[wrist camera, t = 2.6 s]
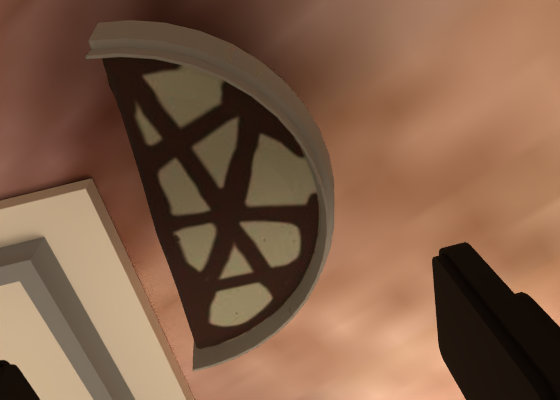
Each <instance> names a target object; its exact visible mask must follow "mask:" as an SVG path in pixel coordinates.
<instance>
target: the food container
mask: <svg viewBox="0 0 560 400" xmlns="http://www.w3.org/2000/svg"><path fill="white" fill-rule="evenodd" d="M89 44H90V47H91V51H90V52H89V53H88V54H87V55H86V56H85V57H86V59H97V58H102V59H103V63H104V67H105V70H106V72H107V77H108V82H109V86H110V88H111V90H112V92H113V94H114V96H115V98H116V101H117V104H118V107H119V109H120V112H121V115H122V119H123V122H124V125H125V128H126V131H127V134H128V138H129V141H130V144H131V147H132V150H133V154H134V157H135V160H136V164H137V167H138V170H139V174H140V177H141V180H142V183H143V187H144V191H145V194H146V198H147V201H148V205H149V208H150V212H151V215H152V219H153V222H154V226H155V230H156V233H157V236H158V239H159V241H160V244H161V246H162V249H163V252H164V254H165V257H166V259H167V262H168V264H169V267H170V270H171V273H172V276H173V278H174V281H175V284H176V287H177V290H178V293H179V296H180V299H181V302H182V305H183V308H184V311H185V314H186V317H187V320H188V323H189V326H190V329H191V332H192V335H193V338H194V349H193V371H197V370H201V369H205V368H209V367H213V366H217V365H219V364H222V363H225V362H227V361H230V360H233V359H235V358H238V357H240V356H241V355H243V354H245V353H247V352H249V351H251V350H253V349H255V348H257V347H258V346H260V345H261V344H263V343H264V342H265V341H267V340H268V339H270V338H271V337H273V336H274V335H275V334H277V333H278V332H279V331H280V330H281V329H282V328H283V327H284V326H285V325H286V324H287V323H288V322H289V321H291V320H292V319H293V318H294V316H295V315H296V314H297V313H298V311H299V310H300V309H301V307H302V306H303V305H304V304H305V302H306V301H307V300H308V298H309V296H310V294H311V292H312V291H313V289H314V287H315V285H316V283H317V281H318V279H319V276H320V274H321V272H322V270H323V267H324V265H325V262H326V259H327V256H328V253H329V250H330V247H331V241H332V235H333V229H334V177H333V172H332V167H331V162H330V157H329V153H328V150H327V148H326V145H325V142H324V140H323V137H322V135H321V132H320V130H319V128H318V126H317V124H316V123H315V121H314V119H313V118H312V116H311V114H310V113H309V111H308V109H307V108H306V106H305V104H304V103H303V102H302V101H301V100H300V99H299V97H298V96H297V95H296V94H295V93H294V92H293V90H292V89H291V88H290V87H289V86H288V85H287V83H286V82H285V81H284V80H283V79H281V78H280V77H279V76H278V75H277V74H275V73H274V72H273V71H272V70H271V69H270V68H268V67H267V66H266V65H265V64H264V63H262V62H261V61H260V60H258V59H256V58H255V57H253V56H252V55H250V54H248V53H247V52H245V51H243V50H242V49H240V48H238V47H237V46H235V45H233V44H231V43H229V42H226V41H224V40H222V39H219V38H217V37H214V36H212V35H209V34H207V33H204V32H202V31H199V30H195V29H190V28H186V27H182V26H178V25H173V24H169V23H163V22H149V21H136V20H125V21H113V22H102V23H98V24H97V26H96V28H95V29H94V31H93V33H92V35H91V37H90V39H89Z"/></svg>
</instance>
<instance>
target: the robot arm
mask: <svg viewBox="0 0 560 400" xmlns="http://www.w3.org/2000/svg"><path fill="white" fill-rule="evenodd" d="M432 266H433V279H434V292H435V305H436V317H437V330H438V343H439V349H440V352H441V355H442V358H443V360H444V362H445V364H446V365H447V367H448V369H449V371H450V372H451V374H452V376H453V378H454V379H455V381H456V383H457V385H458V386H459V388H460V390H461V392H462V393H463V395H464V397H465V399H466V400H560V327H559V326H558V325H557V324H556V323H555V322H554V321H553V320H552V319H551V317H550V316H549V315H548V314H547V313H546V312H545V311H544V310H543V309H542V308H541V307H540V306H539V305H538V304H537V303H536V302H535V301H534V300H533V299H532V298H531V297H530V296H529V295H528V294H526V293H523V292H520V293H516V294H514V293H513V292H512V291H511V289H510V288H509V287H508V286H507V285H506V284H505V283H504V282H503V281H502V280H501V278H500V277H499V276H498V275H497V274H496V273H495V272H494V271H493V270H492V268H491V267H490V266H489V265H488V264H487V263H486V262H485V261H484V260H483V259H482V257H481V256H480V255H479V254H478V253H477V252H476V251H475V250H474V249H473V248H472V246H471V245H470V244H468V243H466V242H464V243H460V244H456V245H452V246H448V247H444V248H441V249H440V250H439V256H436V257H433V259H432ZM0 400H40V398H39V397H38V395H37V394H36V392H35V391H34V390H33V388H32V387H31V385H30V384H29V382H28V381H27V379H26V378H25V376H24V375H23V373H22V372H21V371H20V369H19V368H18V367H17V366H16V365H14V364H10V363H9V362H8V361H6V360H0Z"/></svg>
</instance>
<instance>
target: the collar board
mask: <svg viewBox="0 0 560 400" xmlns="http://www.w3.org/2000/svg"><path fill="white" fill-rule="evenodd" d="M0 360H6V361H8V362H9V363H10V364H14V365H16V366H17V367H18V368H19V369H20V371H21V372H22V373H23V375H24V376H25V378H26V379H27V381H28V382H29V384H30V385H31V387H32V388H33V390H34V391H35V392H36V394H37V395H38V397H39V398H40V400H195V399H194V397H193V395H192V393H191V391H190V389H189V386H188V384H187V382H186V380H185V378H184V376H183V374H182V371H181V369H180V367H179V365H178V363H177V361H176V358H175V356H174V354H173V352H172V350H171V348H170V345H169V343H168V341H167V339H166V337H165V335H164V333H163V330H162V328H161V326H160V324H159V322H158V320H157V317H156V315H155V313H154V311H153V309H152V307H151V304H150V302H149V300H148V298H147V296H146V294H145V292H144V289H143V287H142V285H141V283H140V281H139V279H138V276H137V274H136V272H135V270H134V268H133V266H132V263H131V261H130V259H129V257H128V255H127V253H126V251H125V248H124V246H123V244H122V242H121V240H120V238H119V235H118V233H117V231H116V229H115V227H114V225H113V222H112V220H111V218H110V216H109V214H108V212H107V210H106V207H105V205H104V203H103V201H102V199H101V197H100V194H99V192H98V190H97V188H96V186H95V184H94V181H93V179H92V178H91V179H87V180H83V181H78V182H74V183H70V184H66V185H62V186H58V187H54V188H50V189H46V190H42V191H37V192H33V193H29V194H25V195H21V196H17V197H13V198H9V199H5V200H1V201H0Z"/></svg>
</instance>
